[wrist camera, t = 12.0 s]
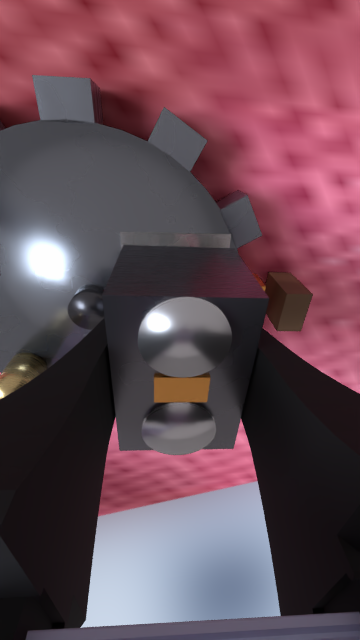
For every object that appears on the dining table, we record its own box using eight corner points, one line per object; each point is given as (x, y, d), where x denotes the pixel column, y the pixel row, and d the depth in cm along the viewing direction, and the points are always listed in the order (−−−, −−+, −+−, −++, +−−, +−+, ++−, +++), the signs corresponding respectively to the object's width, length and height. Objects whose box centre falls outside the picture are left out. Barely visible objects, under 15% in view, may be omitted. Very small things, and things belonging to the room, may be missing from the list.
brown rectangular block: (281, 305, 16) (300, 331, 14) (260, 305, 16) (276, 330, 13) (290, 272, 15) (312, 294, 13) (268, 272, 15) (286, 293, 12)
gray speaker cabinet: (123, 244, 10) (100, 299, 6) (234, 248, 10) (272, 302, 7) (131, 371, 13) (118, 455, 9) (215, 371, 13) (234, 453, 10)
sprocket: (312, 289, 15) (357, 332, 12) (118, 429, 20) (108, 486, 17) (57, -53, 8) (-18, -195, 5) (-134, 285, 14) (-235, 331, 10)
